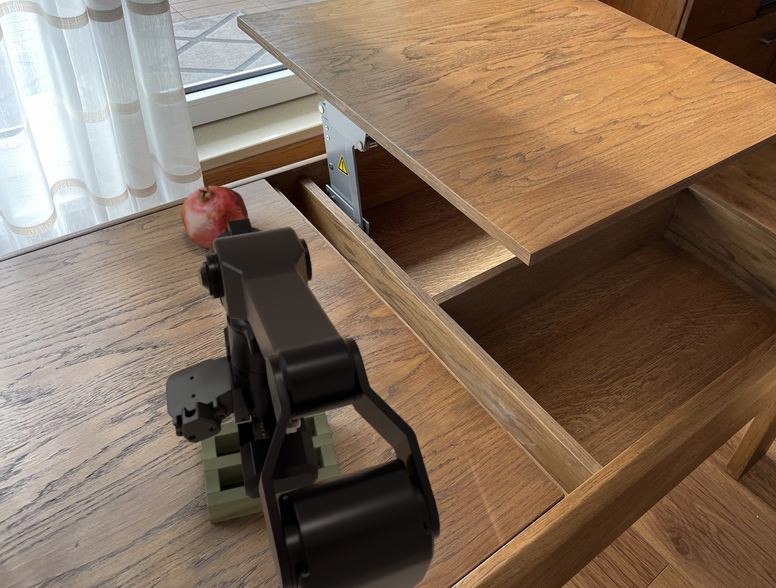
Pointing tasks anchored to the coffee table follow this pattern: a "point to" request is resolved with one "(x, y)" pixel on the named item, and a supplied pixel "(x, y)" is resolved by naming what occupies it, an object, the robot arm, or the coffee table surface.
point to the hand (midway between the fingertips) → (270, 447)
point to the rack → (230, 471)
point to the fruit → (211, 213)
